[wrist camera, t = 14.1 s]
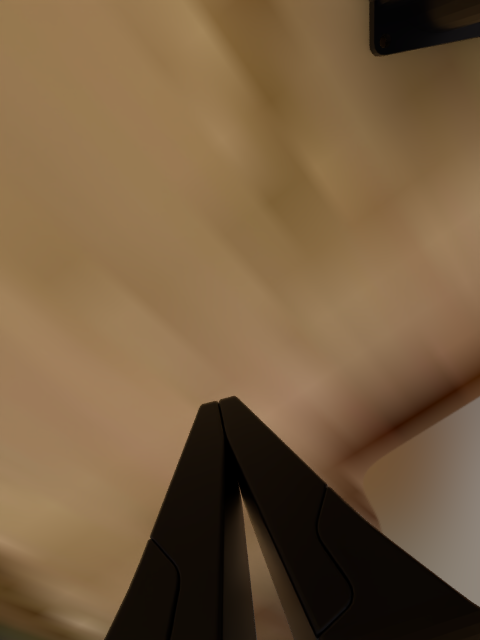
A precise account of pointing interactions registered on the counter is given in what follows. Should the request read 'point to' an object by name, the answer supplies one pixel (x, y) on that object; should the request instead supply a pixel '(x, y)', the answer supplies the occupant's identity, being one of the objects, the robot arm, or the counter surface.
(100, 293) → the counter surface
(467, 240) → the counter surface
